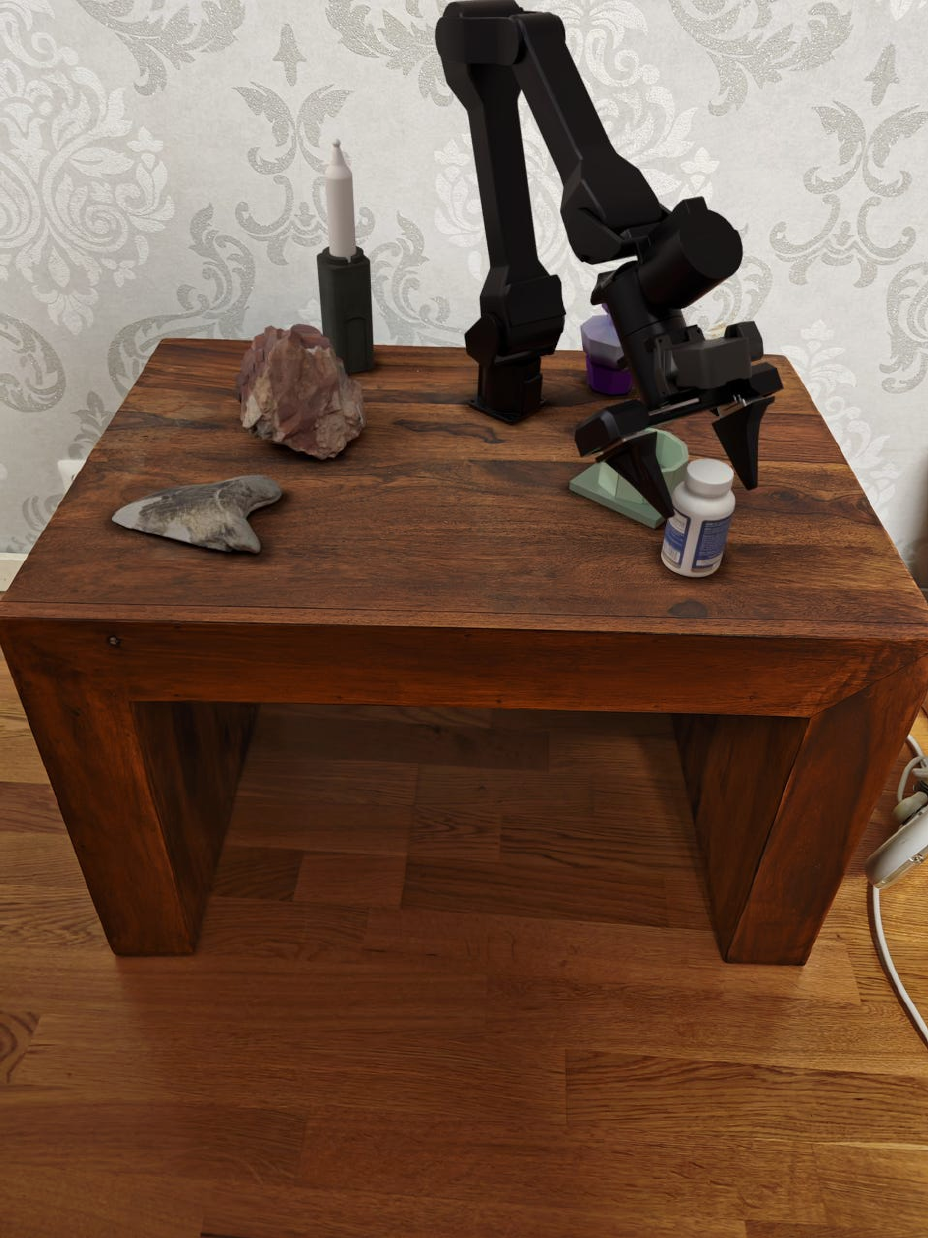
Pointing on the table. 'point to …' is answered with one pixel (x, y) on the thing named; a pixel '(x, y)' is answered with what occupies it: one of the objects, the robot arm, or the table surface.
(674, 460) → the cup holder
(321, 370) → the mineral specimen
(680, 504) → the pill bottle
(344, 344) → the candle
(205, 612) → the table surface
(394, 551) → the table surface
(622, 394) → the potion bottle
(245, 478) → the fossil
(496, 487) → the table surface
